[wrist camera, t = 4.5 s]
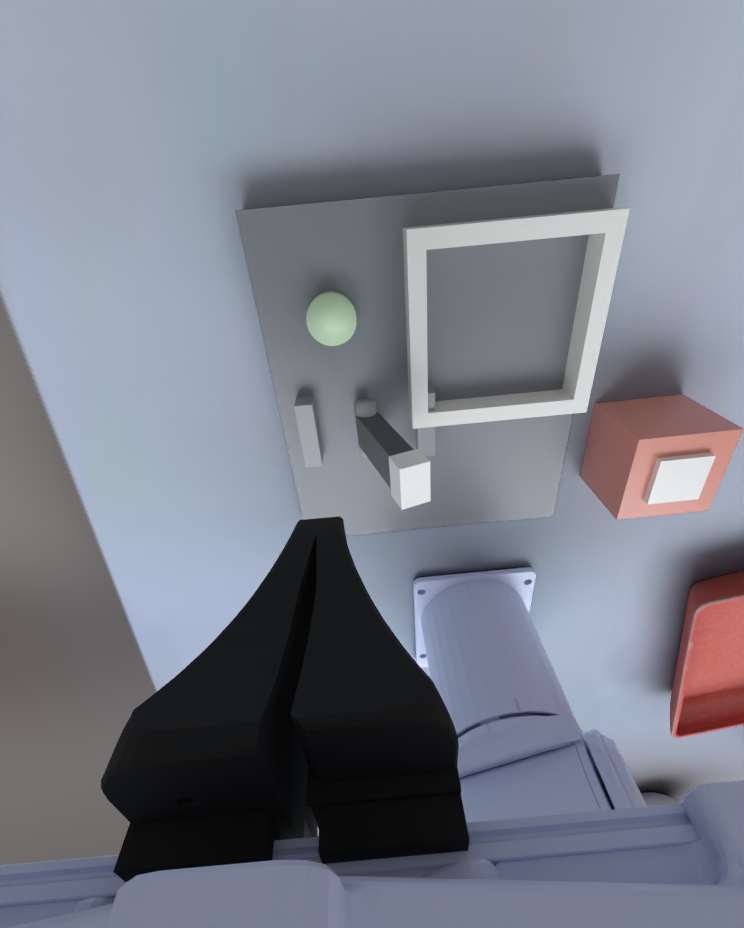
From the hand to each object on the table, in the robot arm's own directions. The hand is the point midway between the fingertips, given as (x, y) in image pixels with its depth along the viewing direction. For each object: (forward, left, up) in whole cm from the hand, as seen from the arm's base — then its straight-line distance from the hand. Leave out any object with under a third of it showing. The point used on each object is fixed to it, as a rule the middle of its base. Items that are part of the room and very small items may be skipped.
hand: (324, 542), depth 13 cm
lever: (0, -2, -8) cm, 8 cm away
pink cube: (-3, -16, -9) cm, 19 cm away
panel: (+1, -5, -9) cm, 10 cm away
